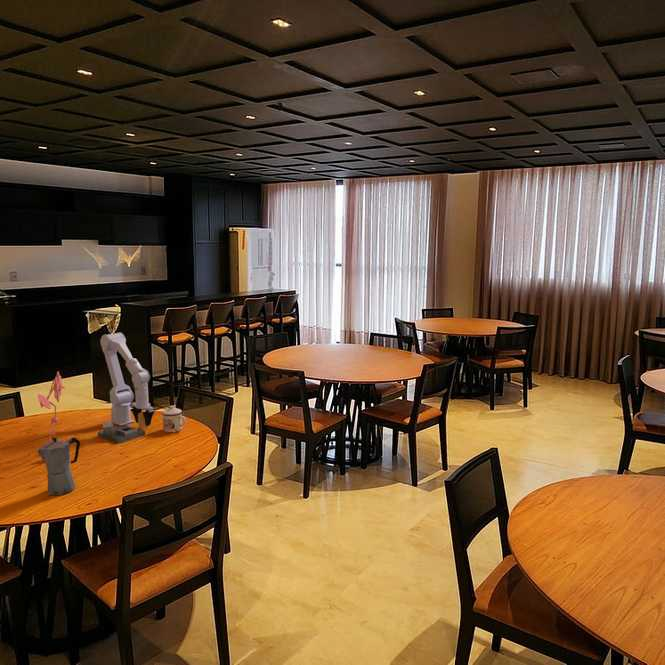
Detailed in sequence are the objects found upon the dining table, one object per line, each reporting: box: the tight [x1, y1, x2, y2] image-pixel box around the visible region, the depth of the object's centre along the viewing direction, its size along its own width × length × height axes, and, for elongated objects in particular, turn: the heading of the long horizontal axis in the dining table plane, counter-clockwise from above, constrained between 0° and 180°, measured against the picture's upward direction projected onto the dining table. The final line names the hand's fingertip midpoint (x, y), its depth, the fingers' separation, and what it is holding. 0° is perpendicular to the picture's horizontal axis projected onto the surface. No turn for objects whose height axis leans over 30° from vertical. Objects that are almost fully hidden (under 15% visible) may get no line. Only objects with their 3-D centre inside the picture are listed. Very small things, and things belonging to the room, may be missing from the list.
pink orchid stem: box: [37, 371, 82, 465], centre depth 242 cm, size 15×26×35 cm, turn 16°
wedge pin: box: [137, 413, 149, 430], centre depth 278 cm, size 3×3×7 cm
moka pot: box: [36, 436, 81, 496], centre depth 208 cm, size 10×15×20 cm, turn 146°
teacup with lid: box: [161, 405, 187, 433], centre depth 275 cm, size 12×9×12 cm
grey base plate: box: [97, 420, 146, 444], centre depth 267 cm, size 16×14×6 cm
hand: (143, 423), depth 279 cm, fingers open, 7 cm apart
